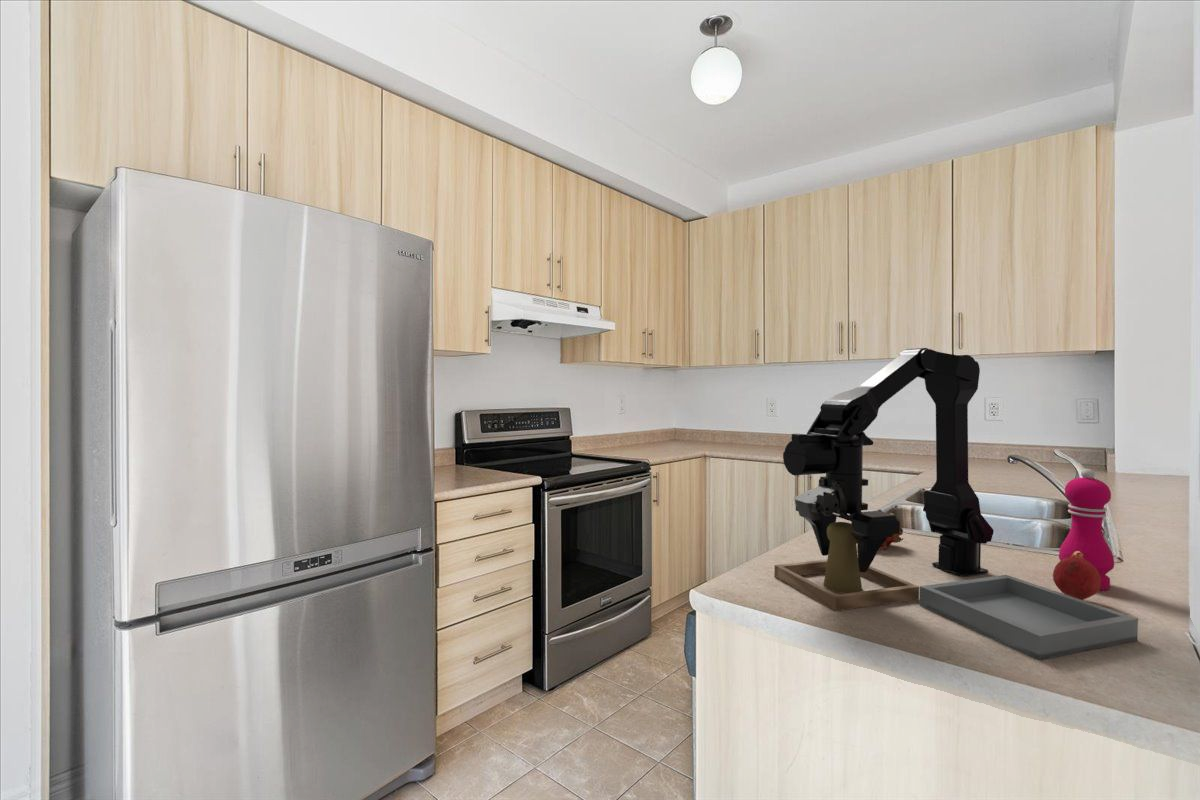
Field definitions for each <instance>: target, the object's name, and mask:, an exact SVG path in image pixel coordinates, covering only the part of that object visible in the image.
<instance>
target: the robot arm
mask: <svg viewBox="0 0 1200 800" xmlns="http://www.w3.org/2000/svg"><path fill="white" fill-rule="evenodd" d="M980 368H981V367H980V364H979V362H978V361H977V360H976V359H974V357H973V356H971V355H969V354H958V355H957V354H953V353H952V354H951V353H946V352H941V351H936V350H934V349H931V348H928V347H919V348H918V347H917V348H906V349H904V350H903V351H901V352H900V353H899V355H898V356H897V357H895V358H894V359H893V360H892V361H890V362H889V363H888V364H886V365H885V366H884V367H883V368H881V369H879V370H878V371H877V372H876V373H875V374H873V375H872V376H871V377H870V378H868V379H866V380H865V381H864V382H862V383H861V384H860V385H859V386H857V387H854V388H852V389H849V390H847V391H842V392H840V393H838V394H835V395H833V396H831V397H830V398H828V399H826V400H825V401H824V402H822V403H821V405H820V411H819V413H818V414H817V416H816V418H815V419H814V421H813V423H812V424H811V425H810V428H809V429H808V431H807V432H806V434H803V433H792V434H791V441H789V442H788V443H787V444H786V445H785V449H784V451H783V452H782V459H783V460H782V461H783V465H784V467H785V469H786V471H787V472H788V473H789V474H790V475H792V476H805V475H806V476H807V475H822V474H825V476H820V477H819V479H818V486H816V487H814V488H811V489H809V490H806V491H804V492H803V493H800V494H799V495H796V496H794V502H795V511H796V512H798V516H799V517H802V518H803V519H805V520H806V521H807V522H808V523H809V524H810V525H811V527H812V530H813V533H814V536H815V539H816V543H817V544H818V545H817V546H818V548H819V550H820V553H821V556H827V557H828V553H829V546H830V540H829V539H828V536H827V527H828V526H829V524H831V523H833V522H837V518H840V519H842V520H845V521H848V522H851V525H852V527H853V529H854V530H855V532H851V534H852V535H853V536H854V538H855V539H856V540H857V544H856V547H857V554H858V565H859V571H860V572H862V573H863V572H866V571H867V570H868V568H869V566H871V564H872V562H873V561H874V559H875V557H876V555H877V554H878V552H879V551H880V549H881V546H882V545H883V543H884V542H885V541H886V539H887V538H888V537H893V534H899V521H900V520H898V519H899V517H897V516H896V514H895V515H892V514H890V513H887V512H885V511H882V512H881V511H878V510H873V511H869V512H868V510H869V504H868V503H865V502H863V487H866V486H869V479H868V478H867V479H866V478H863V467H864V466H863V464H864V463H863V461H864V460H863V459H864V457H863V455H864V453H863V449H864V448H863V447H864V446H873V445H874V441H873V440H872V439H871V438H870V437H869V436H868V435H867V434H866V433H865V431H866V430H867V429H868V428H869V427H870V426H871V425H872V423H874V421H875V420H876V419H877V417H878V414H879V409H880V408H881V407H882V406H883V404H885V403H886V402H888V401H889V400H890V399H891V398H893V397H894V396H896V394H897V393H899V392H900V391H901V390H903V389H904V388H905V387H907V386H908V385H909V384H910V383H912V382H913V381H914V380H915V379H916V378H920V379H923V380H924V386H925V391H926V392H927V394H928V395H929V397H930V398H931V399H932V400H931V401H933V403H934V404H935V452H936V453H935V455H936V456H935V459H936V461H935V464H936V466H935V469H936V477H935V478H936V480H935V483H933V486H932V487H931V488H930V489H929V490H927V489H925V490H924V492H923V501H924V502H923V504H924V505H923V509H922V512H925V517H926V520H927V521H928V524H929V529H930V532H931V533H934V534H935V533H936V534H939V544H938V559H937V560H938V561H934V562H932V564H931V565H932V566H933V567H936V568H938V569H940V570H944V571H946V572H950V573H952V574H955V575H958V576H961V577H965V576H972V575H973V576H974V575H983V574H987V573H989V569H988V568H984V567H981V553H982V552H981V551H982V550H981V548H982V547H981V545H983V544H984V545H985V544H986V545H987V544H988V542H992V540H993V536H994V529H993V527H992V526H991V524H990V523H989V522H988V521H987V520H986V518H985V517H984V516H983V514H982V512H981V505H980V499H979V497H978V496H977V494H976V492H975V490H974V489H973V487H972V486H971V484H970V482H969V426H968V425H969V419H968V415H969V414H968V411H969V410H968V407H969V402H970V401H971V400H972V399H973V397H974V395H975V394H976V392H977V391H978V389H979V382H980V381H979V380H980V372H981V369H980Z"/></svg>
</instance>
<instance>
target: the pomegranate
mask: <svg viewBox="0 0 1200 800" xmlns="http://www.w3.org/2000/svg"><path fill="white" fill-rule="evenodd" d="M1083 555H1084V554H1082V553H1081V552H1079V551H1076V552H1074V553H1073V554H1072V555H1071V556H1070V557H1068V558H1065V559H1063V560H1061V561H1060V560H1059V562H1058V563H1057V564H1056V565H1055V566H1054V569H1053V572H1052V581H1053V583H1054V585H1055V586H1056V587H1057V589H1059V590H1060V593H1063V594H1066V595H1069V596H1072V597H1075V598H1078V599H1081V600H1084V601H1085V600H1087V599H1088V598H1091V597H1094V596H1095V595H1096V594H1097V593H1098V592H1099V591H1101V590H1100V587H1101V578H1100V575H1099V572H1098V571H1097V569H1096V568H1095V567H1094V566H1093V565H1092V564H1091V563H1090V562H1088V561H1087V560H1085V559H1084V558H1083Z"/></svg>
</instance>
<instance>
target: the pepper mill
mask: <svg viewBox="0 0 1200 800" xmlns="http://www.w3.org/2000/svg"><path fill="white" fill-rule="evenodd" d="M1080 474H1081V475H1080V476H1081V477H1075V478H1072V479H1071V480H1069V481H1068V482H1067V483H1066V484H1065V487H1064V495H1065V497H1066V499H1067V500H1068V501H1069V502H1070V503H1069V504H1068V505H1067V507H1068V510H1067V512H1068V513H1069V514H1070V516H1071V527H1070V529H1069V532H1068V534H1067V535H1066V537H1065V539H1064V541H1063V542H1062V543H1061V545H1060V548H1059V550H1058V551H1059V553H1058V560H1059V562H1060V561H1061V560H1063V559H1065V558H1068V557H1070V556H1071V555H1072V554H1073V553H1074V552H1076V551H1079V552H1081V553H1082V554H1084V555H1083V558H1084V559H1085V560H1087V561H1088V562H1090V563H1091V564H1092V565H1093V566H1094V567H1095V568H1096V569H1097V571H1098V572H1099V575H1100V578H1101V587H1100V590H1099V591H1108V590H1110V588H1111V578H1110V576H1108V575H1107V574H1108V573H1109V572H1111V571H1112V570H1113V569H1114V568H1115V559H1114V558H1115V557H1114V554H1113V552H1112V550H1111V548H1110V547H1109V544H1108V543H1107V541H1106V538H1105V535H1104V532H1103V521H1104V518H1106V517H1107V513H1106V512H1107V510H1108V509H1107V508H1106V507H1105V506H1106V505H1107V504H1108V503H1109V502H1110V501H1111V498H1112V492H1111V489H1110V487H1109V486H1108V484H1106V482H1104V481H1102V480H1100V479H1097V478H1094V477H1095V472H1094V471H1093V469H1090V468H1084V469H1083V470H1081V471H1080Z"/></svg>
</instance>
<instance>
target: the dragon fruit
mask: <svg viewBox="0 0 1200 800" xmlns="http://www.w3.org/2000/svg"><path fill="white" fill-rule="evenodd" d="M877 511H881V512H883V511H882V509H877ZM867 512H869V511H868V510H867ZM889 514H892V515H895V516H896V514H894V513H893V512H890V513H889ZM898 520H899V518H898ZM903 527H904V526H903V523H902V520H899V534H893V537H888V538H887V539H886V541H885V542H884V543H883V545H882V546H881V548H880V549H881V550H882V551H885V550H886V549H888V548H891V547H892V543H894V544H896V543H900V542H901V541H903V540H904V537H901V536H902V535H903V533H904V529H903Z"/></svg>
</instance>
